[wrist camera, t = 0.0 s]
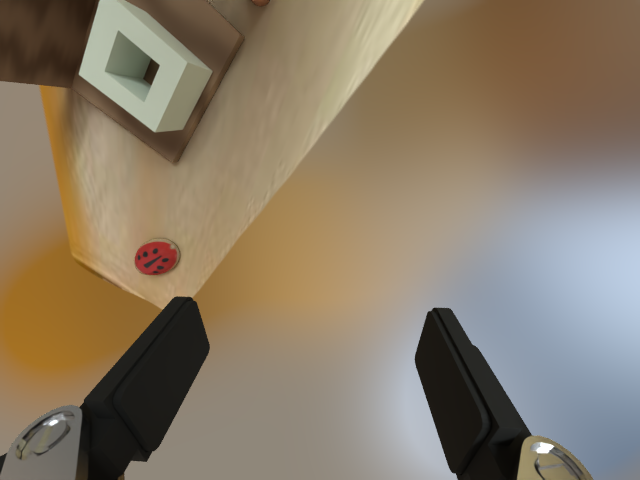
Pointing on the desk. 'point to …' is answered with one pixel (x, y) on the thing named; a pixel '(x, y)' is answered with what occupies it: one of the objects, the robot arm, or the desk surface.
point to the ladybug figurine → (156, 257)
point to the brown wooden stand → (70, 44)
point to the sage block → (142, 66)
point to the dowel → (260, 2)
